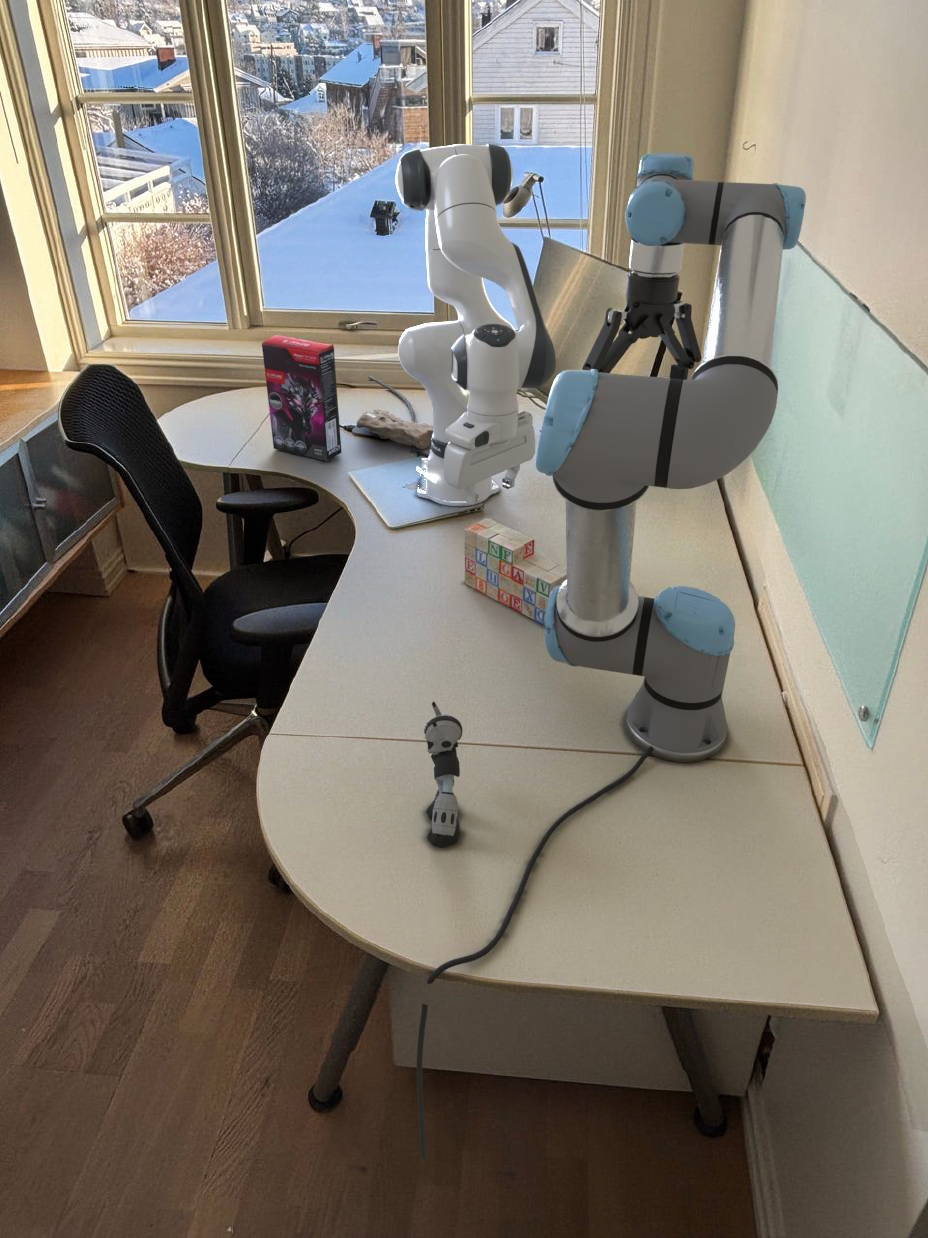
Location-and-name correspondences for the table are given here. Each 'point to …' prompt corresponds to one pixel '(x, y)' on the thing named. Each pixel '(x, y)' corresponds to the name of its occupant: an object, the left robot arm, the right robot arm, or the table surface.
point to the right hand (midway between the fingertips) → (637, 412)
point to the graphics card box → (302, 396)
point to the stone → (396, 428)
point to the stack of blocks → (509, 568)
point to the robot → (443, 777)
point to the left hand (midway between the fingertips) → (490, 495)
